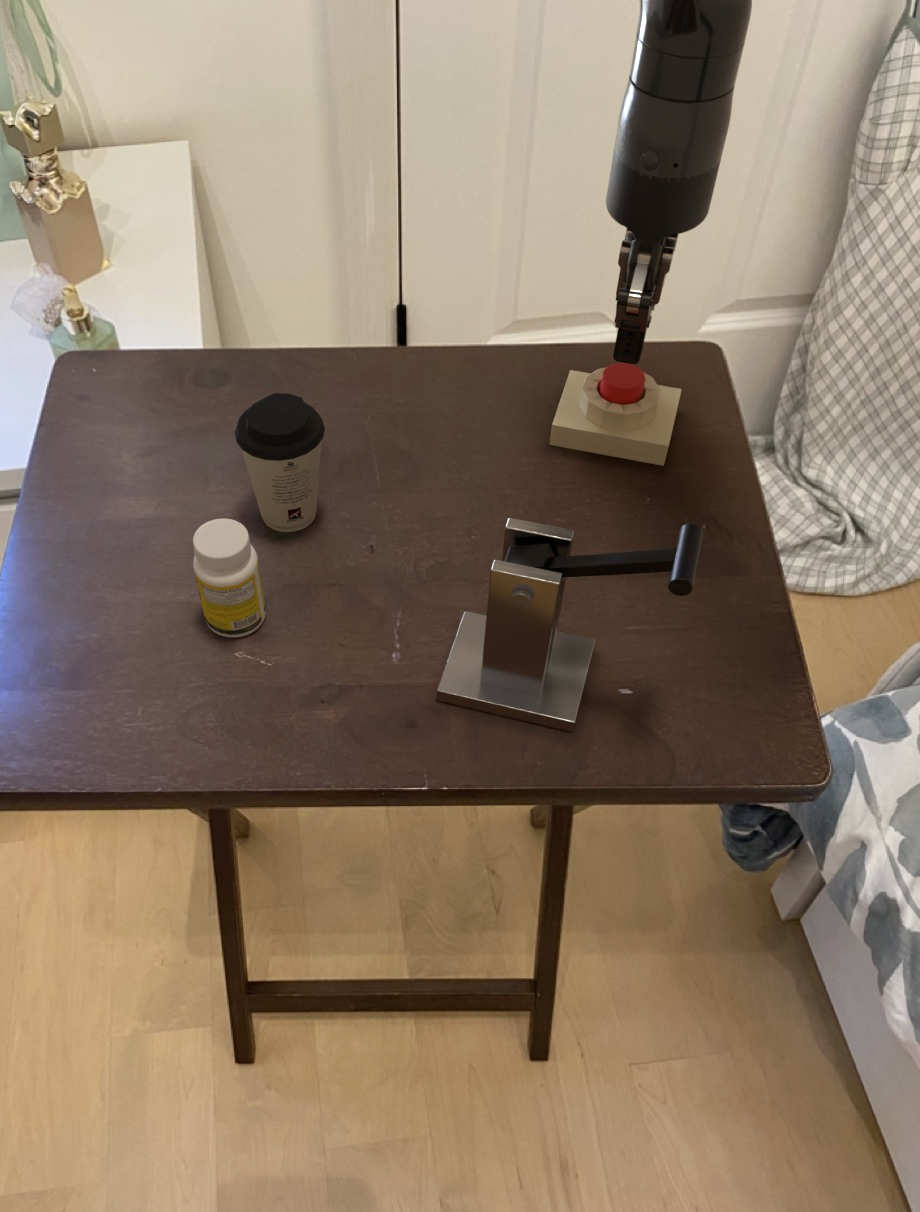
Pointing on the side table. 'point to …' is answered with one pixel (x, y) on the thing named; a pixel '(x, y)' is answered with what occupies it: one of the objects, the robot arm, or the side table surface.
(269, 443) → the coffee cup
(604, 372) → the button
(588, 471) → the side table surface
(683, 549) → the lever
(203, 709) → the side table surface
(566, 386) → the control block
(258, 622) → the supplement bottle
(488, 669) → the bracket
